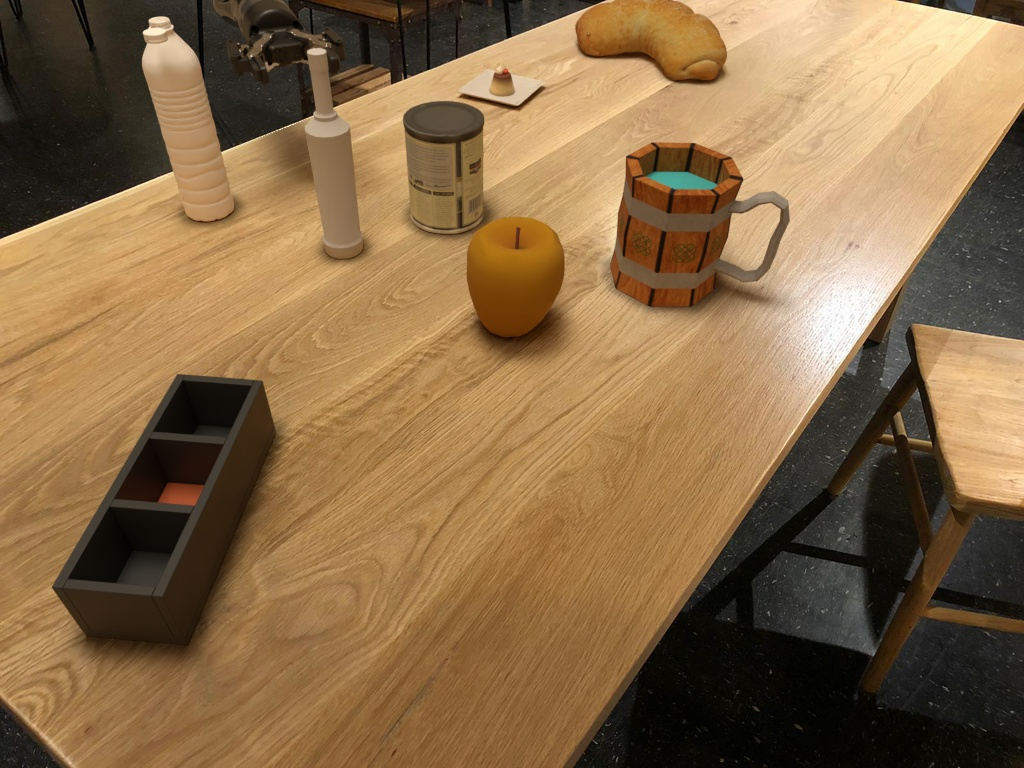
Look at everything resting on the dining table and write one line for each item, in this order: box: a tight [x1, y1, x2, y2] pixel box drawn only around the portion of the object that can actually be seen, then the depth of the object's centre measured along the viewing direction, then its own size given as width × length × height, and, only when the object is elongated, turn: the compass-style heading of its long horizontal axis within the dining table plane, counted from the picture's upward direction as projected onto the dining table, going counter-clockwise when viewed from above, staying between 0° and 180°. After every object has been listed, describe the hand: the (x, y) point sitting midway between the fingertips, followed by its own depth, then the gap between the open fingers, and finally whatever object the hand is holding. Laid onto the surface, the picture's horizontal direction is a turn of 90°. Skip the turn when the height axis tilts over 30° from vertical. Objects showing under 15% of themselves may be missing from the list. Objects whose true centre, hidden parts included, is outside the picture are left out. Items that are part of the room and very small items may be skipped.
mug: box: [609, 141, 791, 307], centre depth 91 cm, size 20×14×15 cm
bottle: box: [304, 48, 364, 260], centre depth 91 cm, size 5×5×25 cm
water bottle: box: [141, 16, 235, 222], centre depth 96 cm, size 9×6×25 cm
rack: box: [51, 373, 277, 646], centre depth 65 cm, size 8×23×7 cm, turn 176°
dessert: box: [456, 63, 547, 107], centre depth 136 cm, size 12×12×5 cm
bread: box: [574, 0, 728, 81], centre depth 150 cm, size 32×20×10 cm, turn 53°
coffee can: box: [402, 100, 485, 235], centre depth 101 cm, size 10×10×14 cm
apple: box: [466, 216, 566, 338], centre depth 85 cm, size 11×11×13 cm
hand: (300, 71), depth 94 cm, fingers open, 8 cm apart
